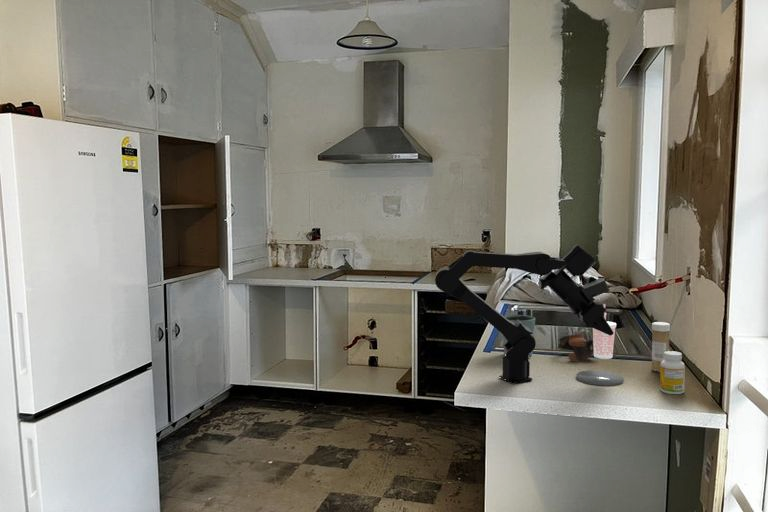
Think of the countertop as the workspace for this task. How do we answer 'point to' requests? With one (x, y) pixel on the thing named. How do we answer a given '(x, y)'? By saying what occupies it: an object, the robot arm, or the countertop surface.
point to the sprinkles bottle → (659, 343)
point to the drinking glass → (525, 320)
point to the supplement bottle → (672, 373)
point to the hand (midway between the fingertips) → (609, 331)
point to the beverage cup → (603, 342)
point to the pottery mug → (577, 347)
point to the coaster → (600, 378)
